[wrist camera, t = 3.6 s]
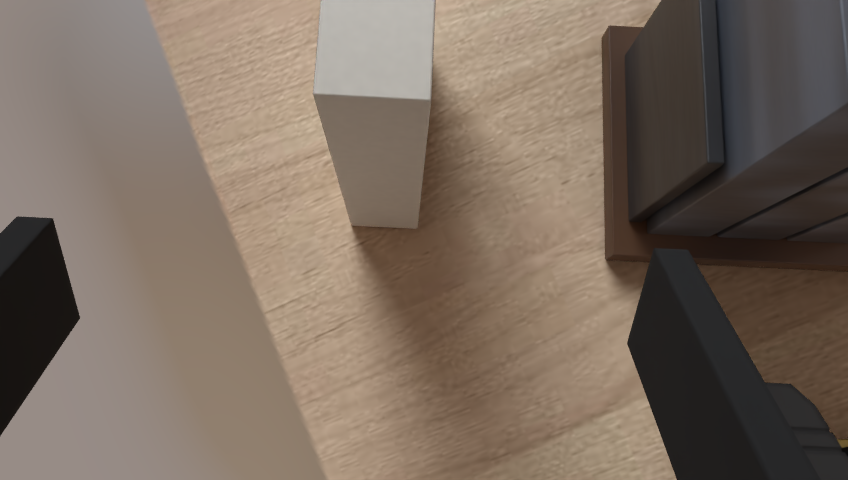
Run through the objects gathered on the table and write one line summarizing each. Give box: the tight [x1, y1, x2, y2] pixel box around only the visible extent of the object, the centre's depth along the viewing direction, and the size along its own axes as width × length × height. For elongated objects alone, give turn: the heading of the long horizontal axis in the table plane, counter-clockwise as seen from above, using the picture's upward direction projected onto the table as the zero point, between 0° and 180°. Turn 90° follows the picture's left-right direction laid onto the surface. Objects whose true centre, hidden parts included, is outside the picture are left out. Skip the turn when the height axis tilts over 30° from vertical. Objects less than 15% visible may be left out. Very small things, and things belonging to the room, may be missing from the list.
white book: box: [313, 0, 436, 229], centre depth 25 cm, size 3×9×14 cm, turn 177°
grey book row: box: [602, 0, 848, 271], centre depth 25 cm, size 12×11×15 cm
